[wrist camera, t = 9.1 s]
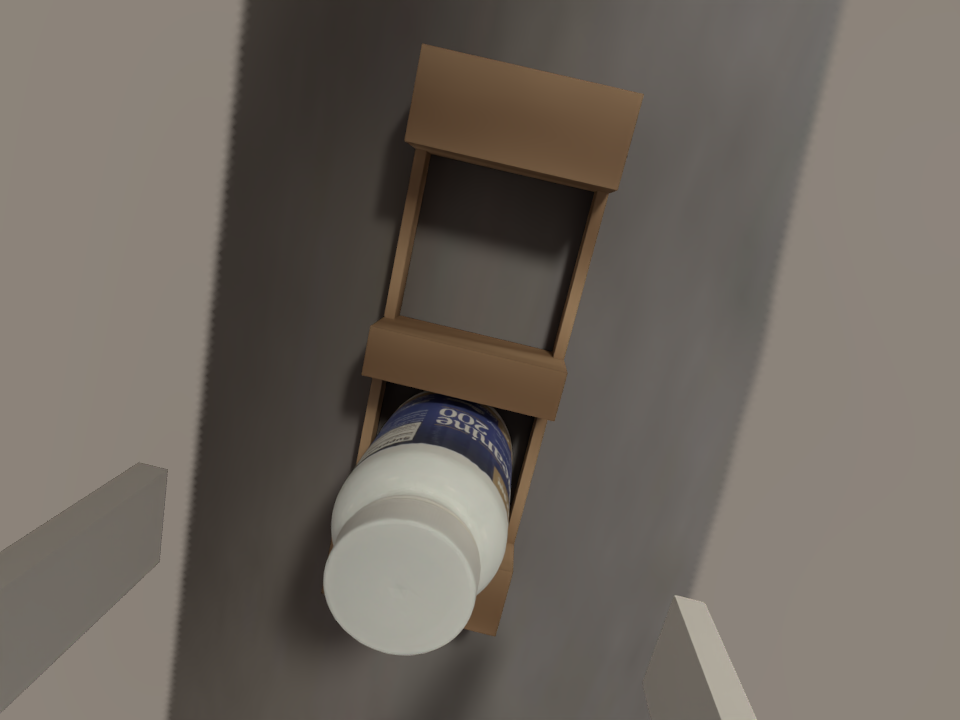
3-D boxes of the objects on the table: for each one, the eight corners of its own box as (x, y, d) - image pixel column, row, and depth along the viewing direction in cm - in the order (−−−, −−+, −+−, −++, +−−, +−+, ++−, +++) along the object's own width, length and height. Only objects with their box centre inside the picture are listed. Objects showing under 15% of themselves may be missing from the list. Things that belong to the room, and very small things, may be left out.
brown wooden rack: (436, 68, 21) (422, 43, 18) (627, 112, 21) (643, 94, 18) (344, 551, 26) (321, 593, 23) (498, 589, 26) (495, 636, 23)
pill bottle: (539, 461, 24) (547, 616, 15) (437, 527, 25) (384, 712, 16) (460, 358, 23) (415, 451, 14) (358, 431, 24) (253, 564, 15)
